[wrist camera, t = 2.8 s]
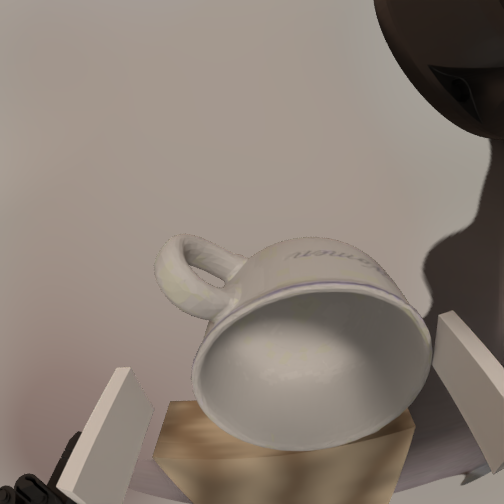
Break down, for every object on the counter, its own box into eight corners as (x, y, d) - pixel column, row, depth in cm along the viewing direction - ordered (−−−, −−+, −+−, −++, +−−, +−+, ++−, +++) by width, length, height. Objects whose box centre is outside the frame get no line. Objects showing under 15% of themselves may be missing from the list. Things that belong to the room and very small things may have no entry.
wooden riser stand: (391, 370, 21) (415, 426, 15) (374, 478, 28) (382, 516, 22) (170, 401, 23) (152, 457, 17) (230, 496, 30) (226, 534, 24)
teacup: (404, 314, 19) (455, 392, 12) (278, 388, 22) (280, 477, 14) (291, 137, 16) (314, 134, 8) (147, 250, 18) (83, 318, 11)
